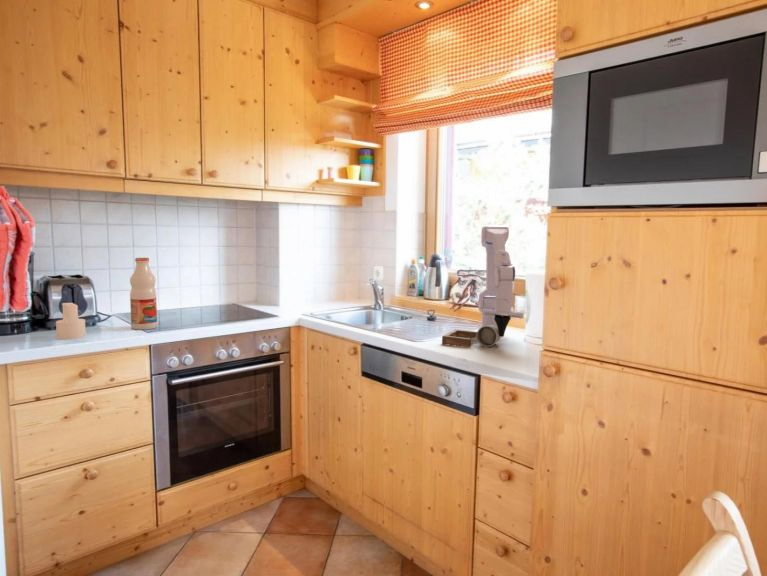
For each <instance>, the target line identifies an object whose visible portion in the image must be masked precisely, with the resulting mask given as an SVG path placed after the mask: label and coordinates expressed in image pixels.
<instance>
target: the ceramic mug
mask: <svg viewBox="0 0 767 576" xmlns="http://www.w3.org/2000/svg"><path fill="white" fill-rule="evenodd" d="M476 332H477V334H476V337H475V338H472V339H471V344H474V343H478V344H479V345H481V346H482V347H484V348H485V347H486V348H490V347H492V346H494V345H495V344H496V343H498V342H499V341H500V339H501V337H500V336H499V331H498V327H497V326H495V325H486V326H483V327H479V328H478V330H477V331H476Z"/></svg>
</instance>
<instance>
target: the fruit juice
mask: <svg viewBox="0 0 767 576" xmlns="http://www.w3.org/2000/svg"><path fill="white" fill-rule="evenodd" d="M135 263H136V264H135V269H134V271H133V273H132V274H131V276H130V278H129V283H130V286H131V289H130V294H129V299H130V300H129V302H130V326H131V329H132V330H135V331H137V330H139V331H140V330H141V331H142V330H152V329H155V328H157V325H158V311H157V291H156V288H155V285H156V277H155V275H154V274H153V273H152V271H151V269H150V266H149V263H150V258H149V257H136V258H135Z"/></svg>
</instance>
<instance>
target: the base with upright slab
mask: <svg viewBox="0 0 767 576" xmlns="http://www.w3.org/2000/svg"><path fill="white" fill-rule="evenodd" d="M78 307H79V306H78V305H77V304H76V303H74V302H62V319H59V320H57V321H56V320H55V326H56V327H55V329H56V331H55V332H56V333H55V334H56V339H58V340H59V341H60V340H64V341H68V340H69V341H70V340H71V341H72V340H78V339H83V338H86V336H87V332H86V319H84V318H79V308H78Z"/></svg>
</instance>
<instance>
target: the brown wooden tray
mask: <svg viewBox="0 0 767 576" xmlns="http://www.w3.org/2000/svg"><path fill="white" fill-rule="evenodd" d="M476 334H477V331H473V330H465V329H452V331H449V332H447V333H446V334H444V335H442V336H441V338H442V339H441V345H445V344H449V345H448V346H453V345H456V346H455V347H461V346H463V347H462V348H469V347H470V348H471V347H472V343H471V339H472V338H475V337H476Z"/></svg>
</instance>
